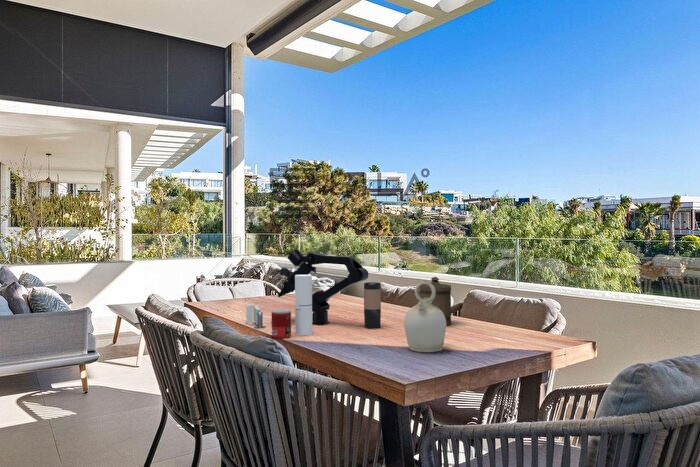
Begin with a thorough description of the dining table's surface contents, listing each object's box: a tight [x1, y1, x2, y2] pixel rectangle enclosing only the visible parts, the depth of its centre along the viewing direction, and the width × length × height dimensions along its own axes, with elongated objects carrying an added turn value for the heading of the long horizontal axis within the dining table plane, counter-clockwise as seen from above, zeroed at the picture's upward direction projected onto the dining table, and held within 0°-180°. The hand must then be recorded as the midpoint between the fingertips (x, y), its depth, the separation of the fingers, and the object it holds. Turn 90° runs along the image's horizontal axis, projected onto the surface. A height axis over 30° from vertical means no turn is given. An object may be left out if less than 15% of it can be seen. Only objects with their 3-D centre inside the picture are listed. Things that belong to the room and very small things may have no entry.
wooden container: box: [419, 276, 452, 327], centre depth 238 cm, size 15×15×22 cm
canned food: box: [271, 308, 292, 340], centre depth 211 cm, size 8×8×11 cm
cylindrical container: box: [294, 274, 313, 337], centre depth 216 cm, size 7×7×25 cm
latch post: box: [245, 303, 254, 325], centre depth 243 cm, size 6×3×9 cm, turn 25°
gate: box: [253, 305, 262, 325], centre depth 239 cm, size 12×2×7 cm, turn 20°
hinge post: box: [253, 311, 267, 329], centre depth 231 cm, size 4×4×7 cm
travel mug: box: [363, 281, 382, 330], centre depth 230 cm, size 8×8×20 cm
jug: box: [403, 280, 447, 354], centre depth 188 cm, size 15×16×25 cm
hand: (278, 296), depth 244 cm, fingers closed
